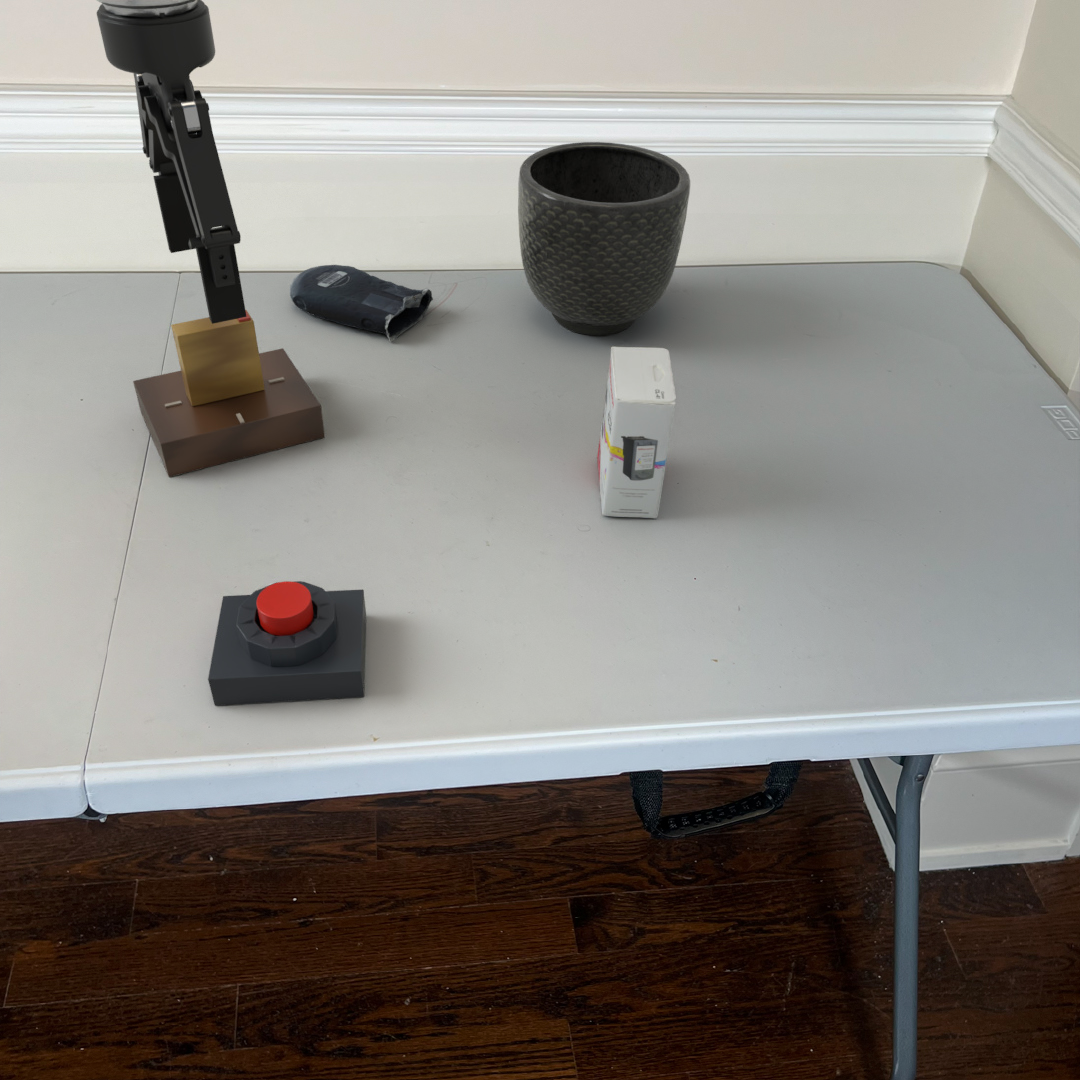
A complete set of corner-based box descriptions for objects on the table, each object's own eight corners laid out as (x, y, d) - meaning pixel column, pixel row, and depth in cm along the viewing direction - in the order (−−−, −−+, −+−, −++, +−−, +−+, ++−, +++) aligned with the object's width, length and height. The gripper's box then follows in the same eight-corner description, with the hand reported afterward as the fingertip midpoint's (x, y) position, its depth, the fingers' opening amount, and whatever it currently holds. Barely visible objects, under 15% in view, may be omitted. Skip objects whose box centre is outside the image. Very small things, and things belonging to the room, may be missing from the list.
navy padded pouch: (436, 319, 114) (326, 269, 118) (437, 278, 110) (322, 227, 113) (388, 366, 109) (274, 312, 112) (387, 324, 104) (268, 270, 108)
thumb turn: (192, 406, 91) (176, 333, 86) (186, 394, 92) (170, 321, 87) (264, 389, 93) (253, 318, 88) (257, 378, 95) (246, 306, 90)
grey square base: (214, 706, 70) (202, 660, 67) (228, 622, 76) (218, 577, 73) (364, 697, 71) (358, 652, 68) (366, 615, 77) (361, 570, 74)
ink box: (596, 458, 93) (606, 342, 85) (652, 460, 93) (667, 344, 85) (600, 519, 86) (612, 400, 79) (660, 521, 86) (678, 402, 79)
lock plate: (168, 477, 89) (160, 442, 86) (141, 413, 96) (132, 379, 94) (325, 437, 94) (321, 403, 92) (287, 379, 101) (282, 346, 99)
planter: (531, 362, 105) (537, 210, 95) (502, 284, 118) (504, 143, 108) (692, 350, 108) (715, 202, 98) (647, 276, 121) (663, 138, 111)
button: (257, 637, 69) (253, 619, 68) (262, 600, 72) (259, 582, 71) (312, 635, 69) (309, 616, 68) (315, 598, 72) (312, 579, 71)
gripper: (256, 44, 65) (297, 341, 79) (164, -42, 81) (211, 216, 95) (134, 57, 62) (198, 362, 76) (64, -35, 79) (127, 230, 93)
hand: (206, 282), depth 86 cm, fingers open, 13 cm apart
